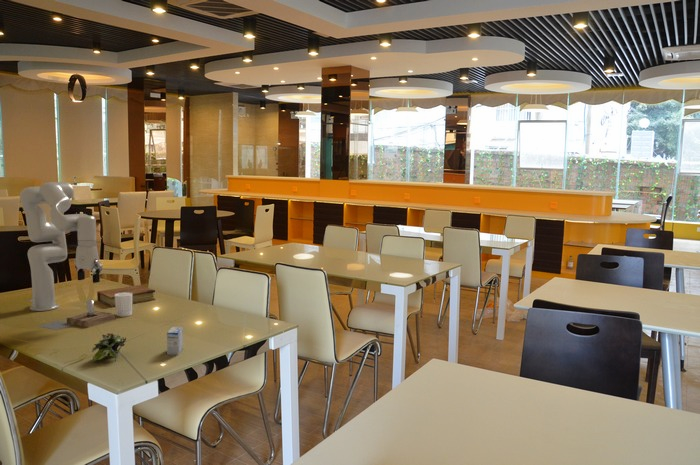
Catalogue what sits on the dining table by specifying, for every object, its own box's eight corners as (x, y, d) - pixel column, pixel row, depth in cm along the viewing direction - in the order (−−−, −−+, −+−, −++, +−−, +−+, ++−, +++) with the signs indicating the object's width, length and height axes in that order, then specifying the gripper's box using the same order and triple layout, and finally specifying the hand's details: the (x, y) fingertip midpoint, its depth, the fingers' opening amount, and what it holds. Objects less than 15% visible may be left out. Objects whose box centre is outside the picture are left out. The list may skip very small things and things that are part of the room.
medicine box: (171, 348, 219) (171, 326, 218) (183, 348, 220) (182, 326, 219) (167, 355, 212) (166, 332, 211) (179, 354, 212) (178, 332, 211)
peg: (85, 322, 253) (84, 301, 252) (91, 321, 256) (90, 299, 255) (90, 323, 252) (89, 301, 251) (96, 321, 254) (95, 300, 253)
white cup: (136, 312, 270) (135, 292, 269) (128, 317, 262) (127, 296, 261) (120, 312, 271) (119, 292, 270) (112, 316, 263) (111, 295, 262)
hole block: (67, 324, 251) (66, 317, 250) (93, 316, 263) (93, 310, 263) (88, 328, 244) (88, 321, 244) (114, 320, 257) (114, 314, 257)
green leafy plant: (109, 369, 211) (123, 339, 216) (122, 371, 204) (137, 340, 209) (82, 358, 204) (97, 328, 209) (95, 360, 197) (110, 328, 202)
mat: (37, 327, 246) (37, 326, 246) (58, 321, 255) (58, 320, 255) (56, 330, 240) (55, 329, 240) (76, 324, 249) (76, 324, 249)
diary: (140, 295, 310) (140, 284, 309) (155, 301, 296) (155, 290, 296) (97, 301, 294) (97, 290, 293) (111, 308, 280) (110, 296, 280)
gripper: (66, 242, 250) (68, 280, 252) (93, 246, 242) (94, 285, 245) (81, 240, 257) (82, 277, 259) (107, 244, 249) (109, 281, 251)
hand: (88, 281), depth 252 cm, fingers open, 9 cm apart
